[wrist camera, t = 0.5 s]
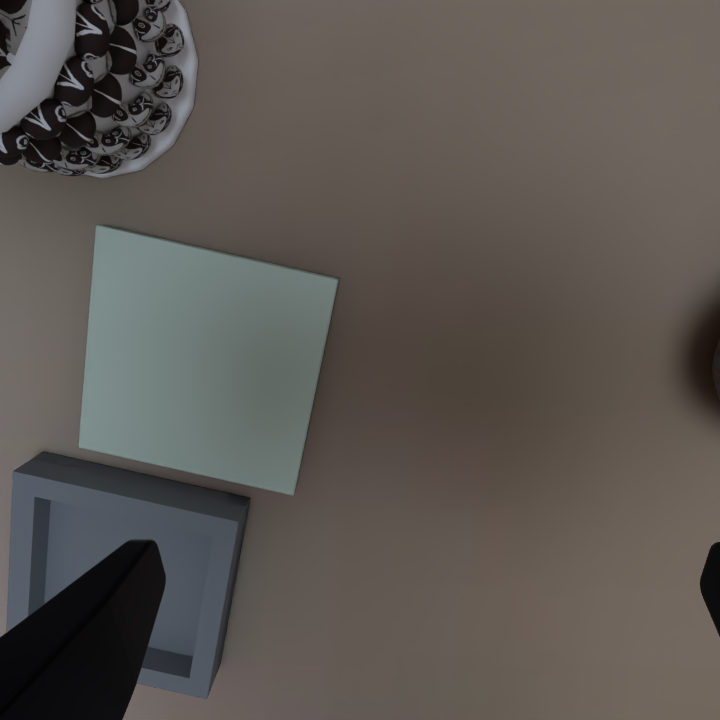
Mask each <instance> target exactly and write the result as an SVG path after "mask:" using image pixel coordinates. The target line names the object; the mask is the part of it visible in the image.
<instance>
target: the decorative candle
mask: <svg viewBox="0 0 720 720" xmlns="http://www.w3.org/2000/svg"><path fill="white" fill-rule="evenodd" d="M198 62H199V61H198V57H197V53H196V48H195V44H194V40H193V36H192V32H191V28H190V24H189V20H188V16H187V12H186V11H185V9H184V8H183V6H182V5H181V3H180V2H179V0H0V165H12V164H15V163H16V162H19V163H20V164H21V165H23V166H24V167H26V168H28V169H31V170H33V171H37V172H43V173H49V172H57V173H59V174H62V175H66V176H79V175H82V174H85V175H90V176H94V177H99V178H108V177H113V176H117V175H122V174H127V173H131V172H136V171H140V170H143V169H144V168H146V167H147V166H148V165H149V164H151V163H152V162H153V161H155V160H156V159H157V158H158V157H160V156H161V155H162V154H163V153H165V152H166V151H167V150H169V149H170V148H171V147H172V146H174V144H175V142H176V140H177V138H178V136H179V135H180V133H181V131H182V129H183V127H184V125H185V123H186V121H187V119H188V117H189V116H190V114H191V112H192V110H193V108H194V100H195V90H196V81H197V72H198Z"/></svg>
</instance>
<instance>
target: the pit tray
mask: <svg viewBox="0 0 720 720" xmlns="http://www.w3.org/2000/svg"><path fill="white" fill-rule="evenodd" d="M249 503H250V498H247V497H242V496H238V495H233V494H229V493H225V492H220V491H216V490H211V489H207V488H202V487H198V486H193V485H189V484H185V483H180V482H176V481H171V480H167V479H162V478H158V477H154V476H149V475H145V474H140V473H136V472H131V471H127V470H122V469H118V468H114V467H109V466H105V465H100V464H96V463H91V462H87V461H83V460H78V459H74V458H69V457H65V456H60V455H56V454H51V453H47V452H42V453H40V454H39V455H37V456H36V457H34V458H33V459H31V460H30V461H28V462H27V463H25V464H24V465H22V466H20V467H19V468H17V469H16V470H14V471H13V486H12V509H11V533H10V556H9V580H8V604H7V627H6V633H7V632H8V631H9V630H11V629H12V628H13V627H15V626H16V625H17V624H18V623H20V622H21V621H22V620H24V619H25V618H26V617H28V616H29V615H30V614H32V613H33V612H34V611H36V610H37V609H38V608H40V607H41V606H42V605H43V604H45V603H46V602H47V601H49V600H50V599H51V598H53V597H54V596H55V595H57V594H58V593H59V592H61V591H62V590H63V589H65V588H66V587H67V586H68V585H70V584H71V583H72V582H74V581H75V580H76V579H78V578H79V577H80V576H82V575H83V574H84V573H86V572H87V571H88V570H90V569H91V568H92V567H94V566H95V565H96V564H97V563H99V562H100V561H101V560H103V559H104V558H105V557H107V556H108V555H109V554H111V553H112V552H113V551H115V550H116V549H117V548H119V547H120V546H121V545H122V544H124V543H125V542H127V541H128V540H131V539H152V540H154V541H155V542H156V543H157V545H158V548H159V552H160V555H161V559H162V563H163V566H164V570H165V574H166V585H165V590H164V593H163V597H162V600H161V604H160V607H159V610H158V614H157V617H156V621H155V624H154V627H153V631H152V634H151V638H150V641H149V644H148V648H147V651H146V655H145V658H144V661H143V665H142V668H141V671H140V674H139V677H138V681H137V683H138V684H142V685H147V686H151V687H155V688H160V689H164V690H169V691H173V692H178V693H182V694H187V695H191V696H196V697H200V698H205V699H207V698H208V695H209V692H210V690H211V687H212V685H213V682H214V679H215V677H216V674H217V672H218V669H219V666H220V662H221V657H222V651H223V646H224V640H225V635H226V629H227V624H228V618H229V613H230V607H231V602H232V596H233V591H234V585H235V580H236V574H237V569H238V563H239V558H240V552H241V547H242V541H243V536H244V530H245V525H246V519H247V514H248V508H249Z"/></svg>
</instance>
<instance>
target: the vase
mask: <svg viewBox="0 0 720 720" xmlns="http://www.w3.org/2000/svg"><path fill="white" fill-rule="evenodd" d="M712 373H713V381H714V386H715V389H716V392H717V394H718V397H719V399H720V339H719V341H718V343H717V346H716V349H715V353H714V357H713V366H712Z"/></svg>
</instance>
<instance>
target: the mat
mask: <svg viewBox="0 0 720 720" xmlns="http://www.w3.org/2000/svg"><path fill="white" fill-rule="evenodd" d="M338 282H339V278H335V277H330V276H326V275H321V274H317V273H313V272H308V271H304V270H299V269H295V268H291V267H286V266H282V265H277V264H273V263H269V262H264V261H260V260H255V259H251V258H247V257H242V256H238V255H233V254H229V253H224V252H220V251H216V250H211V249H207V248H202V247H198V246H194V245H189V244H185V243H180V242H176V241H172V240H167V239H163V238H158V237H154V236H150V235H145V234H141V233H136V232H132V231H128V230H123V229H119V228H114V227H110V226H106V225H96V234H95V246H94V259H93V272H92V284H91V297H90V310H89V322H88V335H87V348H86V360H85V373H84V386H83V398H82V411H81V424H80V436H79V447H80V448H84V449H88V450H93V451H97V452H102V453H106V454H111V455H115V456H120V457H124V458H128V459H133V460H137V461H142V462H146V463H151V464H155V465H159V466H164V467H168V468H173V469H177V470H182V471H186V472H191V473H195V474H199V475H204V476H208V477H213V478H217V479H222V480H226V481H230V482H235V483H239V484H244V485H248V486H253V487H257V488H262V489H266V490H270V491H275V492H279V493H284V494H288V495H294V492H295V489H296V485H297V480H298V475H299V470H300V465H301V460H302V456H303V451H304V446H305V441H306V436H307V432H308V427H309V422H310V417H311V412H312V407H313V403H314V398H315V393H316V388H317V383H318V378H319V374H320V369H321V364H322V359H323V354H324V349H325V345H326V340H327V335H328V330H329V325H330V321H331V316H332V311H333V306H334V301H335V296H336V292H337V287H338Z"/></svg>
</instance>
